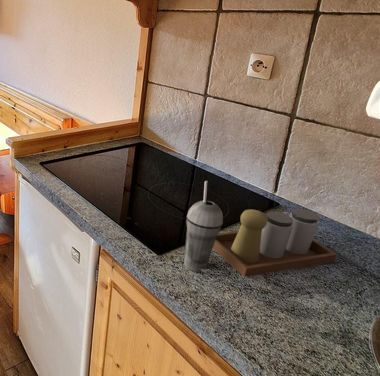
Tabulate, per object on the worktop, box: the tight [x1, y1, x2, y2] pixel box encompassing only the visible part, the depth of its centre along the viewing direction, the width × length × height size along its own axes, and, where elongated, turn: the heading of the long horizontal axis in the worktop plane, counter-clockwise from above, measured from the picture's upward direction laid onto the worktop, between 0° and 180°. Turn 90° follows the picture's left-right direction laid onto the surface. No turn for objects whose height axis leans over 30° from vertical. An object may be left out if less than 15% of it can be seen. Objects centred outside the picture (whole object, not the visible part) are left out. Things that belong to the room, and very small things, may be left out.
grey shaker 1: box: [259, 211, 293, 258], centre depth 91 cm, size 6×6×9 cm
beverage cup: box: [183, 180, 224, 272], centre depth 85 cm, size 7×7×20 cm
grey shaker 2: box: [286, 208, 320, 254], centre depth 93 cm, size 6×6×9 cm
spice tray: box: [212, 230, 338, 278], centre depth 93 cm, size 24×14×3 cm, turn 105°
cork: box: [230, 209, 267, 263], centre depth 89 cm, size 6×6×11 cm
